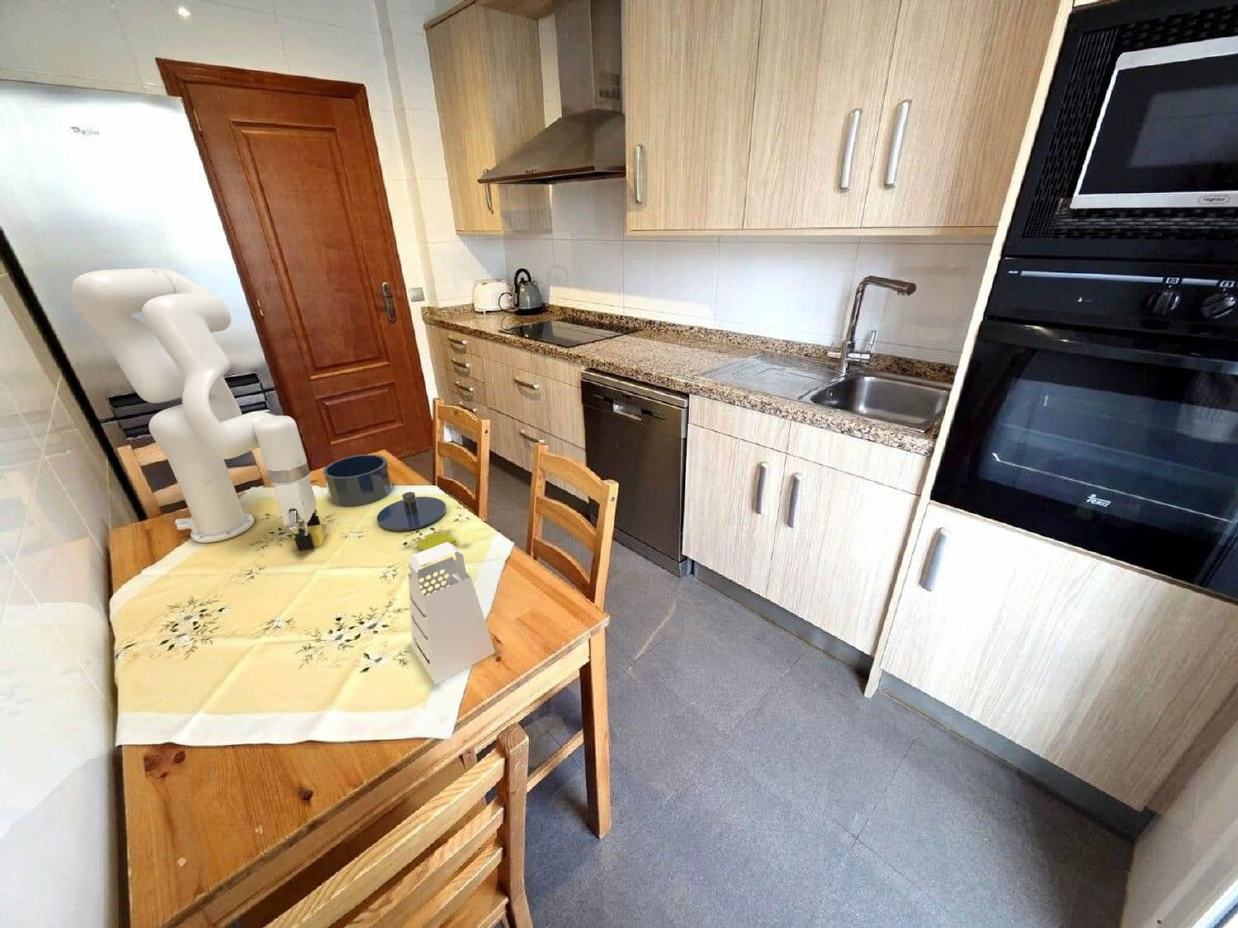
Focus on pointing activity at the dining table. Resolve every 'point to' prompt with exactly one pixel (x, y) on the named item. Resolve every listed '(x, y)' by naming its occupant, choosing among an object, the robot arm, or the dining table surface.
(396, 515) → the lid
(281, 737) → the dining table surface
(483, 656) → the grater
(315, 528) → the cheese
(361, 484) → the pot
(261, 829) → the dining table surface
